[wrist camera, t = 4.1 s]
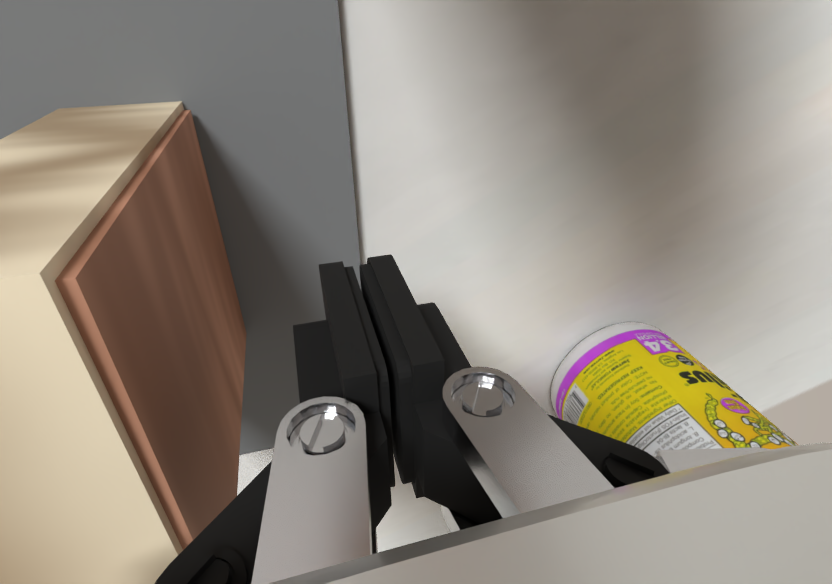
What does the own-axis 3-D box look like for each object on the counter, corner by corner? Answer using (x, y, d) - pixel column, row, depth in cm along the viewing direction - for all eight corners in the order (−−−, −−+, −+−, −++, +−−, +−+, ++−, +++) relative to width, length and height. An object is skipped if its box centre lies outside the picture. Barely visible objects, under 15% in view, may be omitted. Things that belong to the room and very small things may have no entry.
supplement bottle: (682, 356, 25) (977, 610, 15) (586, 434, 27) (795, 718, 16) (626, 290, 22) (961, 562, 11) (519, 385, 23) (729, 705, 13)
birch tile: (189, 100, 13) (61, 269, 5) (247, 334, 17) (231, 636, 9) (58, 108, 12) (-342, 320, 4) (152, 349, 17) (41, 691, 8)
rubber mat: (319, -184, 11) (321, -190, 11) (372, 418, 22) (374, 426, 21) (-1038, -266, 7) (-1119, -283, 7) (-164, 529, 18) (-174, 541, 17)
